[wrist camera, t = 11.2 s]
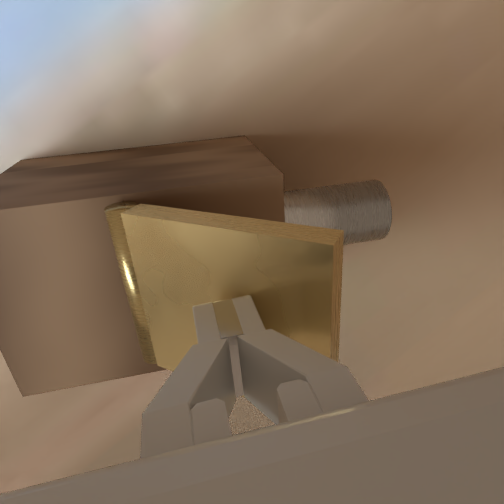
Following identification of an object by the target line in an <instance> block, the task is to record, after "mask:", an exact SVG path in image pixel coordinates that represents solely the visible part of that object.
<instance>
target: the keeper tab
mask: <svg viewBox="0 0 504 504" xmlns="http://www.w3.org/2000/svg"><path fill="white" fill-rule="evenodd" d="M104 211H105V215H106V219H107V223H108V227H109V230H110V234H111V238H112V242H113V246H114V249H115V253H116V257H117V261H118V265H119V268H120V272H121V276H122V280H123V284H124V287H125V291H126V295H127V299H128V303H129V306H130V310H131V314H132V318H133V322H134V325H135V329H136V333H137V337H138V341H139V345H140V348H141V352H142V356H143V360H144V361H145V362H146V363H148V364H157V365H158V366H160V367H163V368H165V369H168V370H171V371H174V370H175V368H176V367H177V366H178V364H179V363H180V362H181V360H182V359H183V357H184V356H185V355H186V353H187V352H188V351H189V349H190V348H191V347H192V345H196V344H198V340H197V334H196V328H195V322H194V316H193V309H192V307H193V306H194V305H199V304H204V303H209V302H211V303H212V302H215V301H221V300H227V299H232V298H236V297H241V296H245V295H250V296H251V297H252V299H253V302H254V304H255V306H256V308H257V311H258V313H259V315H260V318H261V320H262V322H263V325H264V327H265V329H266V330H267V329H273V330H275V331H277V332H279V333H281V334H283V335H285V336H287V337H289V338H291V339H293V340H295V341H297V342H299V343H300V344H302V345H304V346H306V347H308V348H310V349H312V350H314V351H316V352H318V353H320V354H322V355H324V356H326V357H328V358H330V359H332V360H334V361H336V362H338V356H339V333H340V310H341V287H342V263H343V240H344V230H338V229H330V228H323V227H315V226H308V225H300V224H293V223H285V222H277V221H270V220H262V219H255V218H247V217H240V216H232V215H225V214H217V213H209V212H202V211H194V210H187V209H179V208H172V207H164V206H157V205H149V204H141V203H140V204H138V205H136V203H135V202H132V201H123V202H117V203H113V204H110V205H108V206H106V207H105V208H104ZM242 397H244V396H242Z"/></svg>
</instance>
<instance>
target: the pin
mask: <svg viewBox="0 0 504 504" xmlns="http://www.w3.org/2000/svg"><path fill="white" fill-rule="evenodd" d="M284 210H285V223H293V224H300V225H308V226H315V227H323V228H330V229H338V230H344V240H343V245H347V244H353V243H359V242H366V241H372V240H379V239H383V238H385V237H386V236H387V234H388V232H389V230H390V226H391V220H392V210H391V203H390V199H389V195H388V193H387V191H386V189H385V187H384V186H383V184H382V183H381V182H379V181H378V180H369V181H362V182H354V183H346V184H339V185H331V186H324V187H316V188H309V189H301V190H293V191H286V192H284Z"/></svg>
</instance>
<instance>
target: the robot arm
mask: <svg viewBox="0 0 504 504" xmlns="http://www.w3.org/2000/svg"><path fill="white" fill-rule="evenodd" d="M192 309H193V316H194V322H195V328H196V334H197V340H198V344H196V345H192V347H191V348H190V349H189V351H188V352H187V353H186V355H185V356H184V357H183V359H182V360H181V362H180V363H179V364H178V366H177V367H176V368H175V370H174V371H173V373H172V374H171V375H170V377H169V378H168V379H167V381H166V382H165V384H164V385H163V386H162V388H161V389H160V390H159V392H158V393H157V394H156V396H155V397H154V399H153V400H152V401H151V403H150V404H149V405H148V407H147V408H146V410H145V411H144V412H143V414H142V431H141V456H140V459H138V460H134V461H130V462H126V463H122V464H118V465H114V466H110V467H106V468H102V469H98V470H94V471H90V472H86V473H82V474H78V475H74V476H70V477H66V478H62V479H58V480H54V481H50V482H46V483H42V484H38V485H34V486H30V487H26V488H22V489H19V490H15V491H11V492H7V493H3V494H0V504H504V367H501V368H497V369H493V370H489V371H486V372H482V373H478V374H474V375H470V376H466V377H462V378H458V379H454V380H450V381H446V382H442V383H438V384H434V385H430V386H426V387H423V388H419V389H415V390H411V391H407V392H403V393H399V394H395V395H391V396H387V397H383V398H379V399H375V400H371V401H369V400H368V399H367V397H366V395H365V394H364V392H363V391H362V389H361V388H360V386H359V385H358V383H357V381H356V380H355V378H354V377H353V375H352V374H351V372H350V371H349V369H348V368H347V367H346V366H344V365H342V364H340V363H338V362H336V361H334V360H332V359H330V358H328V357H326V356H324V355H322V354H320V353H318V352H316V351H314V350H312V349H310V348H308V347H306V346H304V345H302V344H300V343H299V342H297V341H295V340H293V339H291V338H289V337H287V336H285V335H283V334H281V333H279V332H277V331H275V330H273V329H267V330H266V329H265V327H264V325H263V322H262V320H261V318H260V315H259V313H258V311H257V308H256V306H255V304H254V302H253V299H252V297H251V296H250V295H245V296H241V297H236V298H232V299H227V300H221V301H215V302H212V303H211V302H209V303H204V304H199V305H194V306H193V307H192ZM239 396H244V397H245V398H246V399H247V400H249V401H250V402H251V403H252V404H253V405H254V406H255V407H257V408H258V409H259V410H260V411H261V412H262V413H263V414H265V415H266V416H267V417H268V418H269V419H270V420H271V421H273V422H274V423H275V424H276V425H272V426H268V427H264V428H260V429H256V430H252V431H248V432H244V433H241V434H237V435H233V436H232V432H231V428H230V424H229V416H230V414H231V411H232V409H233V406H234V404H235V401H236V397H239Z"/></svg>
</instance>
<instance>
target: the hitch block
mask: <svg viewBox="0 0 504 504" xmlns="http://www.w3.org/2000/svg"><path fill="white" fill-rule="evenodd" d="M123 201H132V202H135V203H136V205H138V204H140V203H141V204H149V205H157V206H164V207H172V208H179V209H187V210H194V211H202V212H209V213H217V214H225V215H232V216H240V217H247V218H255V219H262V220H270V221H277V222H285V210H284V180H283V173H282V172H281V171H280V170H279V169H278V168H276V167H275V166H274V165H273V164H272V163H271V162H270V161H269V160H268V159H267V158H266V157H265V156H264V155H263V154H262V153H261V152H260V151H259V150H258V149H257V148H256V147H255V146H254V145H253V144H252V143H251V142H250V141H249V140H248V139H247V138H246V137H245V136H237V137H228V138H219V139H210V140H201V141H192V142H182V143H173V144H164V145H155V146H146V147H137V148H128V149H118V150H109V151H100V152H91V153H82V154H73V155H64V156H55V157H45V158H36V159H27V160H20V161H19V162H17V163H16V164H14V165H13V166H12V167H10V168H9V169H7V170H6V171H4V172H3V173H1V174H0V350H1V352H2V355H3V357H4V359H5V361H6V363H7V365H8V367H9V369H10V371H11V373H12V375H13V377H14V380H15V382H16V384H17V386H18V388H19V390H20V392H21V394H22V396H23V397H24V396H29V395H34V394H40V393H45V392H50V391H55V390H61V389H66V388H71V387H76V386H82V385H87V384H92V383H98V382H103V381H108V380H113V379H119V378H124V377H129V376H134V375H140V374H145V373H150V372H155V371H161V370H166V369H165V368H163V367H160V366H158V365H157V364H148V363H146V362H145V361H144V360H143V356H142V352H141V348H140V345H139V341H138V337H137V333H136V329H135V325H134V322H133V318H132V314H131V310H130V306H129V303H128V299H127V295H126V291H125V287H124V284H123V280H122V276H121V272H120V268H119V265H118V261H117V257H116V253H115V249H114V246H113V242H112V238H111V234H110V230H109V227H108V223H107V219H106V215H105V211H104V208H105V207H106V206H108V205H110V204H113V203H117V202H123Z"/></svg>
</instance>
